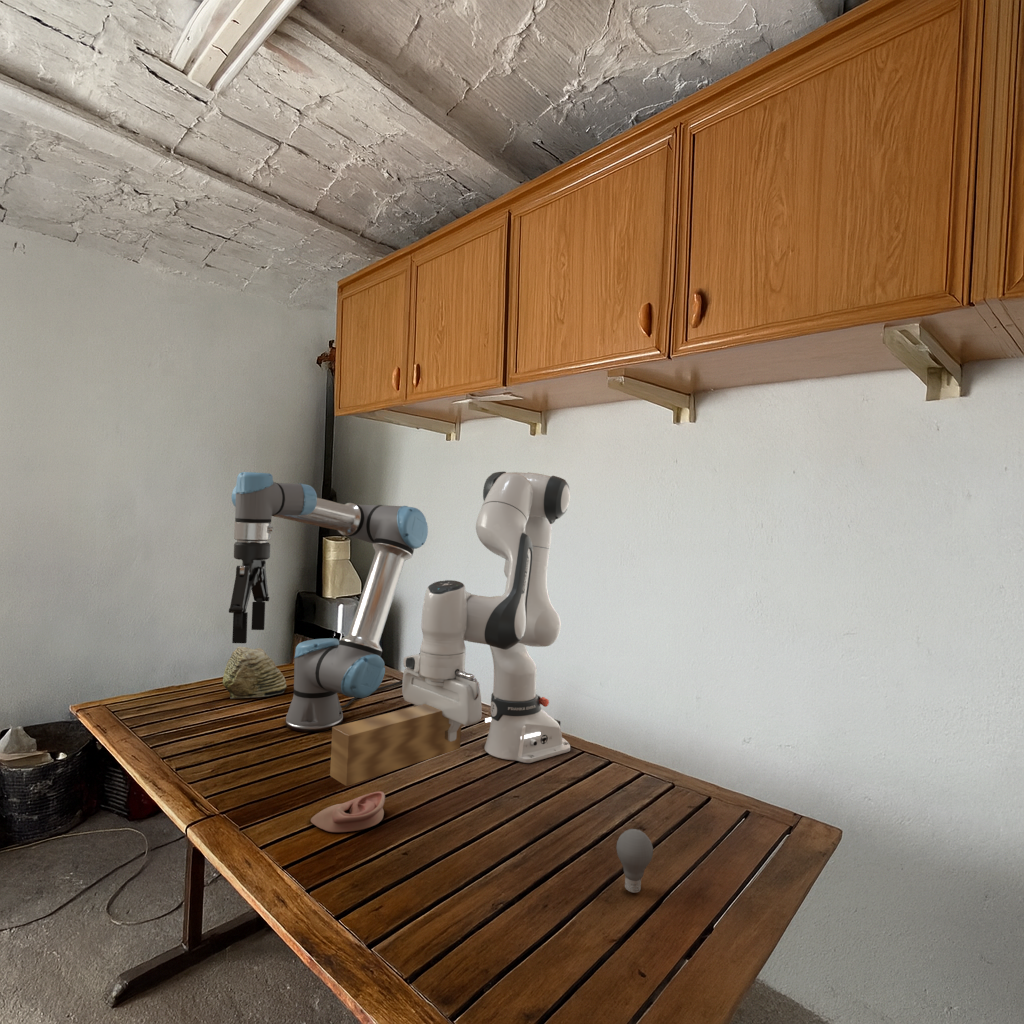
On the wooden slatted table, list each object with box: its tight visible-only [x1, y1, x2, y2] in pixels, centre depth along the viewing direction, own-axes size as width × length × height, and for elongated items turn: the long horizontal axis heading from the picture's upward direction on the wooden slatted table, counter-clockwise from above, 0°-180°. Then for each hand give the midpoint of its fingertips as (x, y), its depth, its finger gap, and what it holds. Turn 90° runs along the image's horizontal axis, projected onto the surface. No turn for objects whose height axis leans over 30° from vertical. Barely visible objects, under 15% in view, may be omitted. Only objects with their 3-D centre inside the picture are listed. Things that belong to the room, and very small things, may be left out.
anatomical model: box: [310, 790, 386, 833], centre depth 125 cm, size 13×4×12 cm
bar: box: [329, 704, 462, 787], centre depth 117 cm, size 26×5×9 cm, turn 137°
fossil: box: [222, 646, 288, 699], centre depth 198 cm, size 9×18×15 cm, turn 132°
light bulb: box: [615, 828, 654, 894], centre depth 106 cm, size 6×6×10 cm
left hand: (249, 636), depth 142 cm, fingers open, 13 cm apart
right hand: (439, 735), depth 124 cm, fingers closed on bar, 5 cm apart
